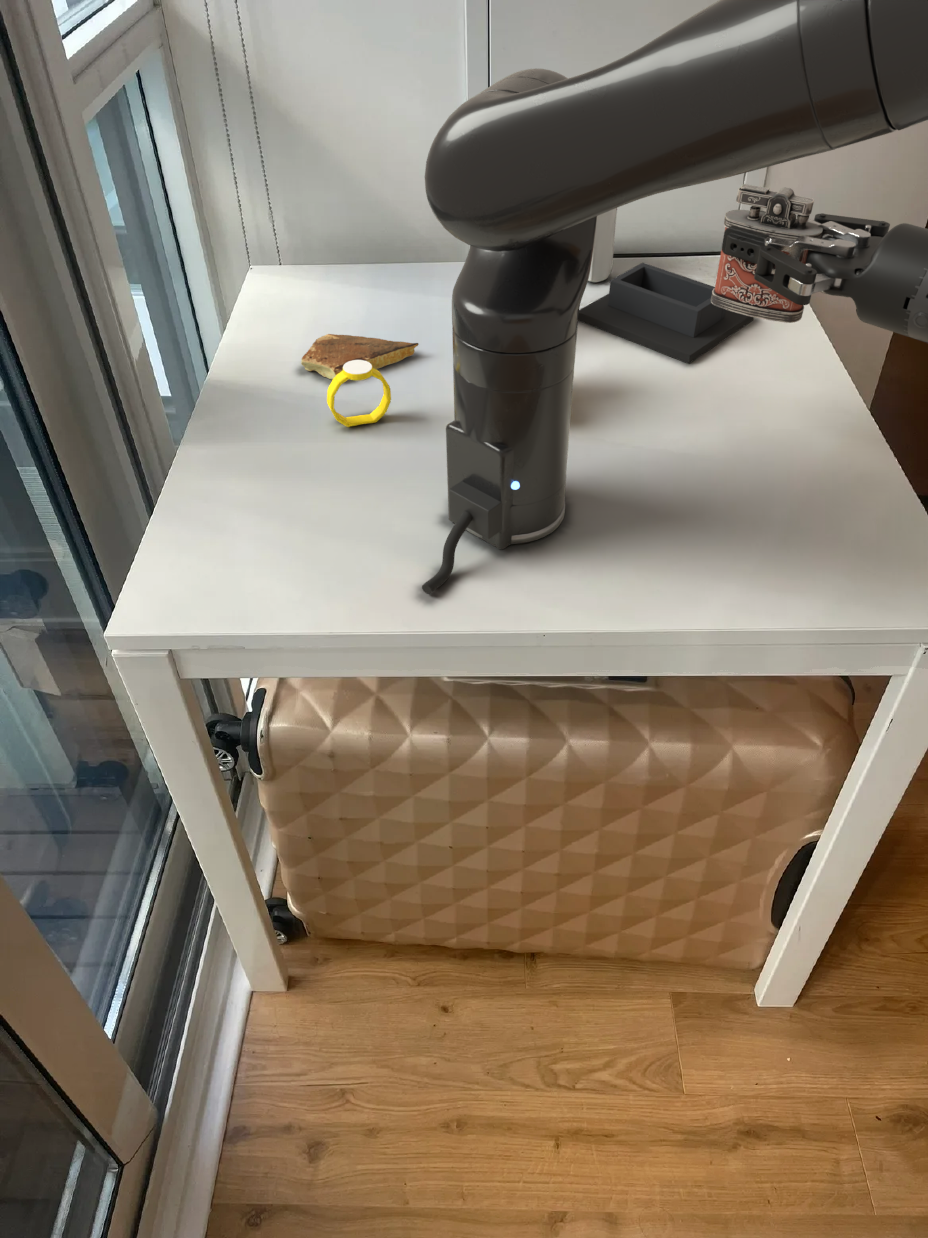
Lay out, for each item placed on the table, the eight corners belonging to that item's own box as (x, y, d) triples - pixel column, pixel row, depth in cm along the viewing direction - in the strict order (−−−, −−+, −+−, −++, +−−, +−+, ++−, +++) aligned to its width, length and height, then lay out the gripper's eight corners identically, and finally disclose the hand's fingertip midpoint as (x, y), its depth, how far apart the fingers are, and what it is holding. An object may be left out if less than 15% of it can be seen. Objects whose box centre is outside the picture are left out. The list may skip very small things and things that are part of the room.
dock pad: (688, 363, 99) (694, 328, 96) (575, 319, 106) (578, 285, 104) (753, 320, 106) (760, 285, 103) (642, 281, 113) (646, 248, 110)
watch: (335, 435, 90) (328, 380, 86) (327, 421, 92) (320, 366, 88) (395, 422, 92) (390, 367, 87) (386, 408, 93) (382, 353, 89)
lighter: (807, 311, 82) (836, 191, 75) (794, 326, 80) (823, 205, 73) (719, 290, 85) (739, 174, 78) (704, 305, 83) (724, 187, 76)
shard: (419, 355, 101) (418, 340, 100) (397, 392, 96) (396, 376, 94) (324, 344, 103) (322, 328, 102) (298, 379, 98) (295, 363, 97)
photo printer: (532, 259, 118) (536, 154, 109) (557, 250, 120) (563, 146, 111) (591, 287, 112) (600, 178, 104) (616, 276, 114) (627, 169, 105)
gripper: (993, 211, 72) (791, 161, 81) (912, 271, 65) (698, 209, 74) (959, 304, 77) (772, 248, 86) (880, 369, 70) (685, 301, 79)
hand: (739, 231), depth 80 cm, fingers closed on lighter, 3 cm apart
